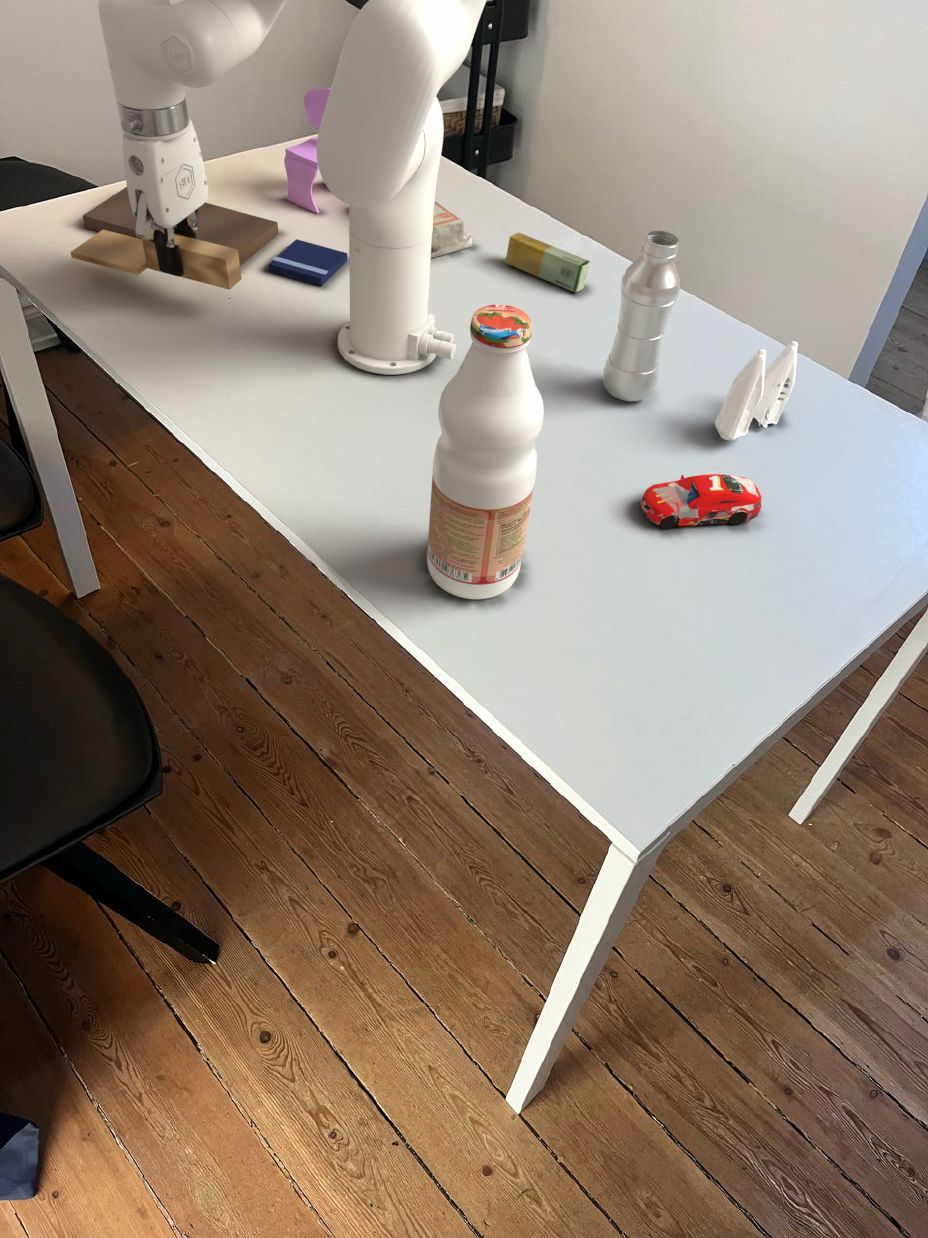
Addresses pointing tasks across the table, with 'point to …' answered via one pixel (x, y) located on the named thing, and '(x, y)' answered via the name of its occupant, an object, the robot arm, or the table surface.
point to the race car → (702, 501)
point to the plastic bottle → (643, 318)
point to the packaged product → (447, 233)
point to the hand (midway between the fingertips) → (180, 265)
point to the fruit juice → (485, 459)
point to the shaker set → (758, 393)
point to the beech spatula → (140, 254)
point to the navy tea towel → (308, 262)
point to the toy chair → (306, 154)
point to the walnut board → (211, 221)
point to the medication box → (547, 262)
